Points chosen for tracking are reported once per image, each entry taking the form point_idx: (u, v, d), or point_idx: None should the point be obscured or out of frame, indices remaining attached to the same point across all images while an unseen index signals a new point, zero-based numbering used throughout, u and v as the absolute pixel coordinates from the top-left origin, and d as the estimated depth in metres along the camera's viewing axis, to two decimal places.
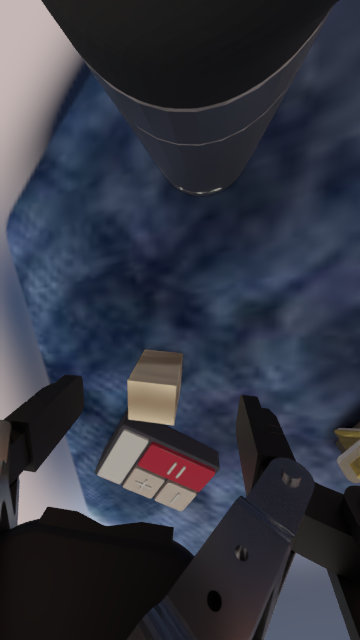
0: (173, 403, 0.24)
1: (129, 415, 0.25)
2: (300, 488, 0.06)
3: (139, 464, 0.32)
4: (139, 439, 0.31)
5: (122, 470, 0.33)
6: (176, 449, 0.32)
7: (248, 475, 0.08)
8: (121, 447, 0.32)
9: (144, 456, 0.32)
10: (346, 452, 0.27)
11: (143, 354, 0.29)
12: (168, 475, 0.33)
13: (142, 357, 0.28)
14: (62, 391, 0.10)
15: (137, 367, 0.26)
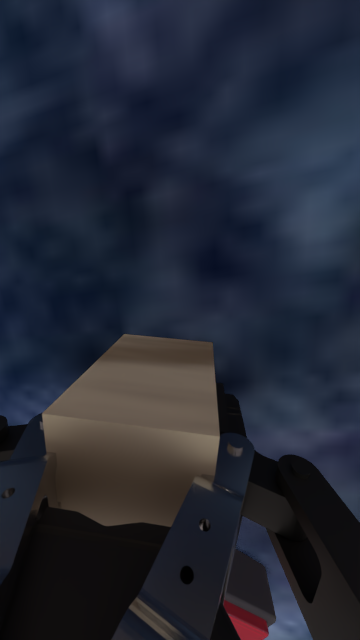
0: None
1: None
2: (240, 456, 0.07)
3: None
4: None
5: None
6: None
7: None
8: None
9: None
10: None
11: (120, 343, 0.12)
12: None
13: (115, 349, 0.11)
14: None
15: (93, 372, 0.09)
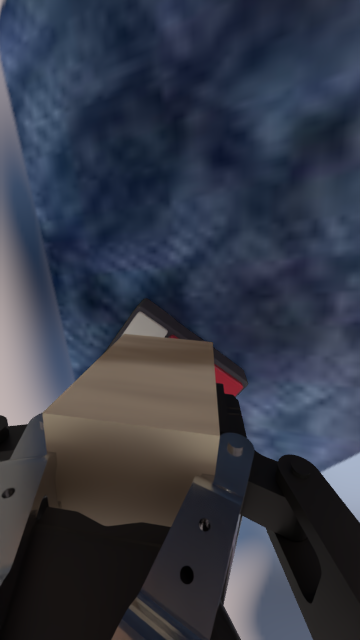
0: None
1: None
2: (240, 456, 0.07)
3: None
4: (156, 327, 0.24)
5: None
6: None
7: None
8: None
9: None
10: None
11: (120, 343, 0.12)
12: None
13: (115, 348, 0.11)
14: None
15: (94, 372, 0.09)
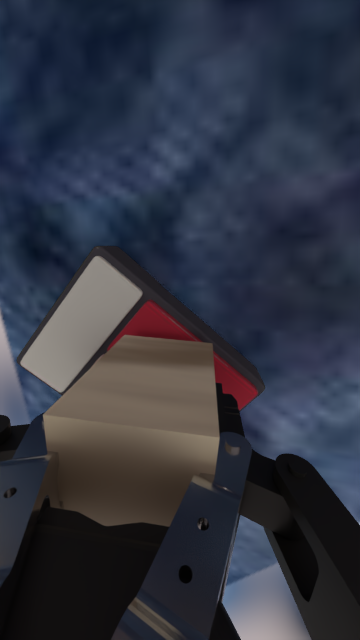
0: None
1: None
2: (238, 455, 0.07)
3: (110, 348, 0.16)
4: (125, 284, 0.15)
5: (73, 359, 0.16)
6: (194, 327, 0.16)
7: None
8: (82, 300, 0.15)
9: (125, 329, 0.15)
10: None
11: (120, 344, 0.12)
12: None
13: (115, 349, 0.11)
14: None
15: (94, 373, 0.09)
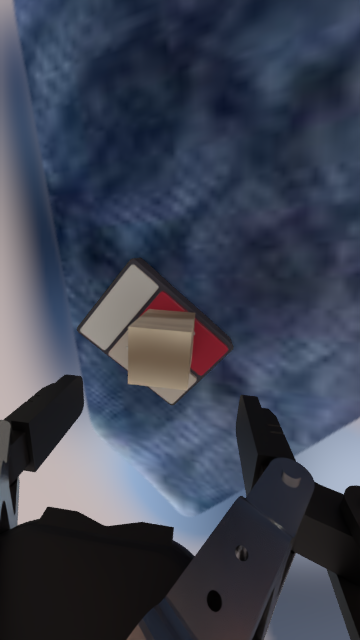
0: (187, 358, 0.19)
1: (129, 377, 0.20)
2: (300, 488, 0.06)
3: None
4: (148, 281, 0.25)
5: (114, 328, 0.26)
6: (189, 308, 0.26)
7: (248, 475, 0.08)
8: (122, 290, 0.25)
9: (147, 308, 0.25)
10: None
11: (148, 312, 0.24)
12: None
13: (146, 313, 0.23)
14: (62, 391, 0.10)
15: (140, 319, 0.21)
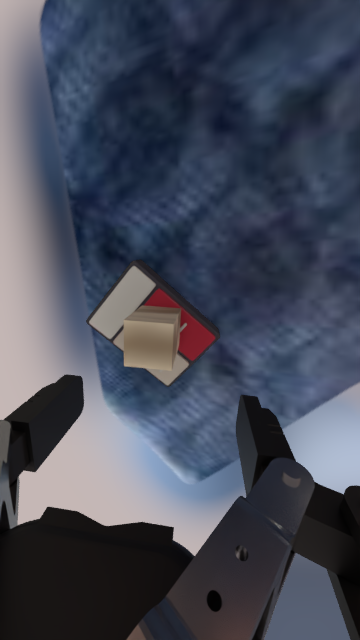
0: (171, 344, 0.23)
1: (125, 361, 0.24)
2: (300, 488, 0.06)
3: None
4: (147, 280, 0.29)
5: (118, 320, 0.31)
6: (182, 303, 0.30)
7: (248, 475, 0.08)
8: (124, 288, 0.30)
9: (146, 303, 0.30)
10: None
11: (141, 308, 0.28)
12: None
13: (139, 309, 0.28)
14: (62, 391, 0.10)
15: (134, 314, 0.25)
